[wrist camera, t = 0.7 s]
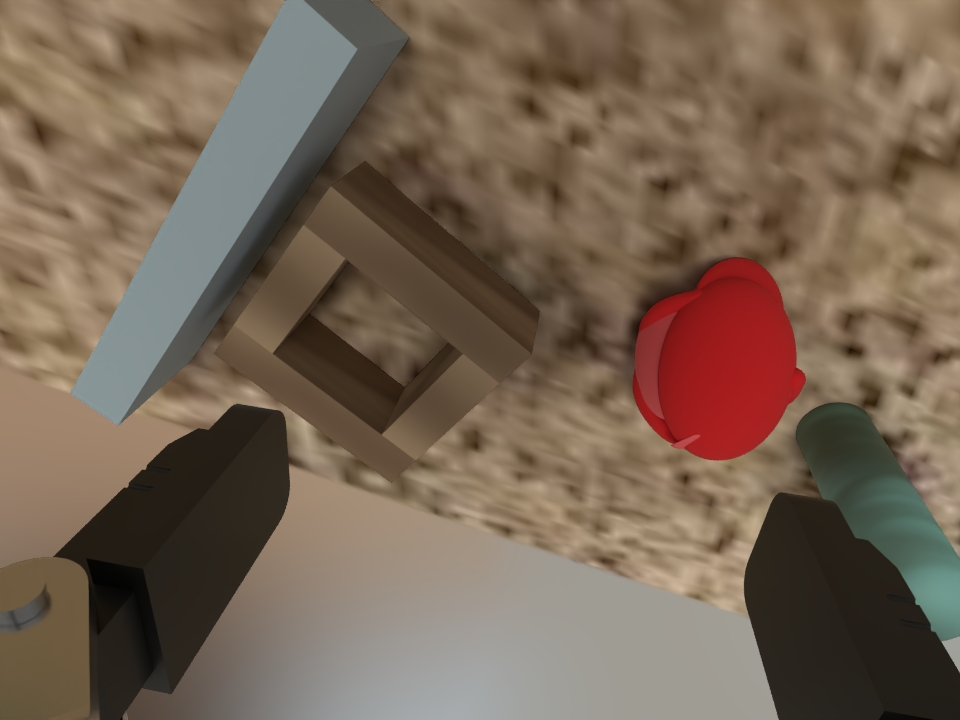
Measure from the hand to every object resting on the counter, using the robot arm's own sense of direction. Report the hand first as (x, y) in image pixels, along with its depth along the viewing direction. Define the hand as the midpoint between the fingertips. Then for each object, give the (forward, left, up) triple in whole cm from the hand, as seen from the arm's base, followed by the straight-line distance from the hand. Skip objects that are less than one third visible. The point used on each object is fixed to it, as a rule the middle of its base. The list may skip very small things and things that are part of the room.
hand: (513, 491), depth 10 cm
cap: (0, +9, -18) cm, 20 cm away
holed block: (+10, -2, -18) cm, 21 cm away
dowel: (0, +17, -18) cm, 25 cm away
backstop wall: (+10, -10, -18) cm, 23 cm away
